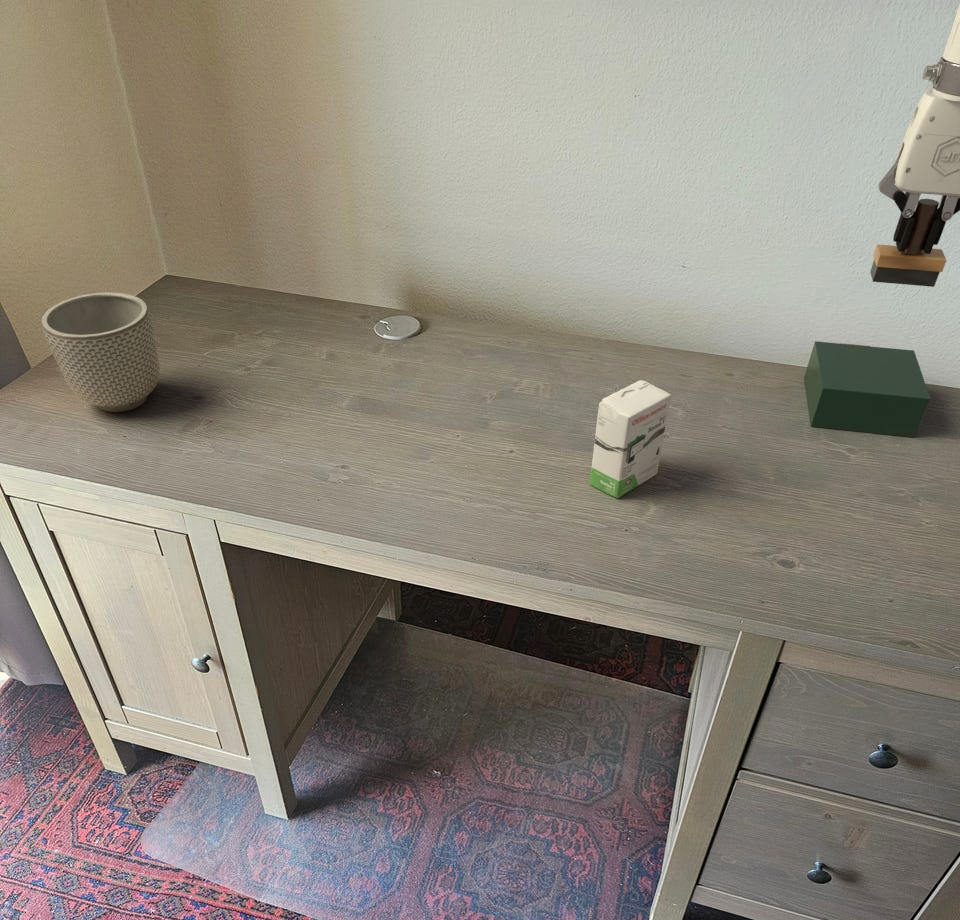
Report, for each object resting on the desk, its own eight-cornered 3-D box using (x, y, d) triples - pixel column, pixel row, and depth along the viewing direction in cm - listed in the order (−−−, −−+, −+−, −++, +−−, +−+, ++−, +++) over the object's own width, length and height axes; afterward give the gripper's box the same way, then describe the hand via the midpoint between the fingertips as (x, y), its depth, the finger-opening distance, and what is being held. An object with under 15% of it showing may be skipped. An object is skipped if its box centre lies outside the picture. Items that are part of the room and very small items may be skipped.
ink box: (616, 500, 109) (629, 417, 100) (587, 483, 111) (596, 401, 103) (659, 473, 113) (674, 392, 104) (629, 458, 115) (642, 377, 107)
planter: (128, 367, 132) (103, 283, 122) (191, 394, 126) (170, 308, 117) (51, 406, 124) (17, 318, 114) (115, 436, 118) (85, 347, 109)
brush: (931, 276, 113) (960, 199, 106) (936, 287, 110) (966, 209, 104) (868, 271, 114) (892, 194, 107) (871, 282, 111) (896, 204, 105)
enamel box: (901, 388, 129) (916, 350, 125) (916, 438, 119) (933, 399, 115) (803, 378, 131) (814, 340, 127) (810, 426, 121) (822, 388, 117)
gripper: (900, 84, 95) (849, 255, 108) (1057, 92, 93) (985, 265, 106) (892, 68, 100) (844, 232, 113) (1040, 75, 98) (973, 242, 111)
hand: (912, 247), depth 109 cm, fingers closed on brush, 2 cm apart
